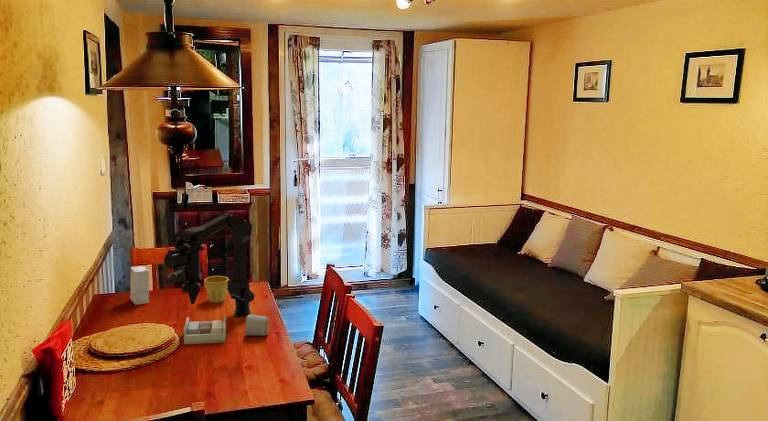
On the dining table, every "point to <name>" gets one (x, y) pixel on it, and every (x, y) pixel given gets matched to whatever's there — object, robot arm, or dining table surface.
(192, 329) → the grey flat block
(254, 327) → the ceramic mug
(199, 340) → the key bed
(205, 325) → the brown rectangular block
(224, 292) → the plant pot
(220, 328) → the ivory key
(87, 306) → the dining table surface
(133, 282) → the skincare box
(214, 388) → the dining table surface
